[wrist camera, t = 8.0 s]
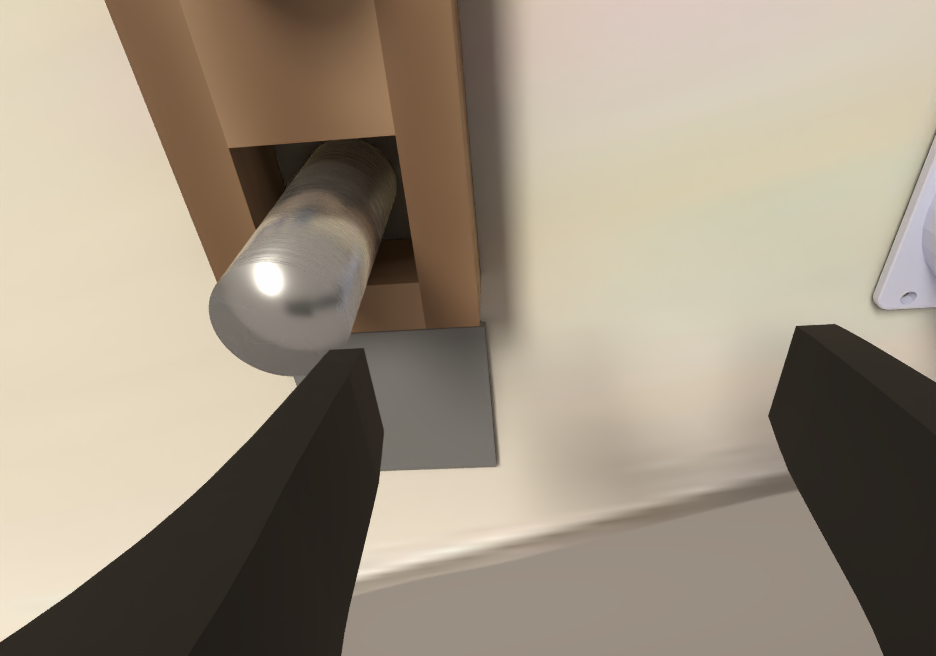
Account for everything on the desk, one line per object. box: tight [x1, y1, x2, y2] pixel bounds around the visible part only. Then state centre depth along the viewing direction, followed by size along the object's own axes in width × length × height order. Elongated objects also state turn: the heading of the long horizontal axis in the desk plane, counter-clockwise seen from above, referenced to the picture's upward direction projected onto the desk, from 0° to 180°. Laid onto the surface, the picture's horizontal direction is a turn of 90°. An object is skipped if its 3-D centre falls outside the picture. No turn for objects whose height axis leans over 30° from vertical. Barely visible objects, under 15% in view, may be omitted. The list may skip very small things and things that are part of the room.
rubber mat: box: [294, 322, 496, 471], centre depth 25 cm, size 8×8×1 cm
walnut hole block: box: [105, 0, 481, 333], centre depth 15 cm, size 8×16×3 cm, turn 5°
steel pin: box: [209, 138, 397, 376], centre depth 16 cm, size 3×3×8 cm
